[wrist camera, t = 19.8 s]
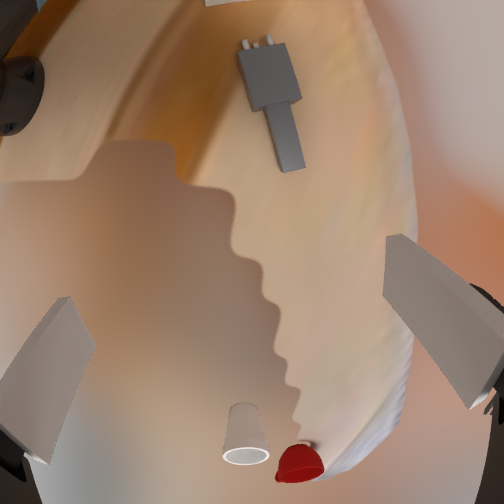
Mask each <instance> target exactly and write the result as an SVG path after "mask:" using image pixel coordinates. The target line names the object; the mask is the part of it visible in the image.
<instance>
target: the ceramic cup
mask: <svg viewBox="0 0 504 504" xmlns="http://www.w3.org/2000/svg"><path fill="white" fill-rule="evenodd" d="M323 473H324V466H323V463H322V460H321V458H320V456H319V455H318V453H317V452H316V451H315V450H314V449H312V448H311V447H309V446H307V445H305V444H297V445H293V446H290V447H288V448H287V449H286V451H285V452H284V453H283V455H282V456H281V458H280V460H279V467H278V471H277V473H276V476H275V480H276V481H277V482H285V483H298V482H304V481H308V480H311V479H314V478H316V477H318V476H320V475H321V474H323Z"/></svg>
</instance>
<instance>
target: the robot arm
mask: <svg viewBox="0 0 504 504" xmlns="http://www.w3.org/2000/svg"><path fill="white" fill-rule="evenodd" d="M46 1H47V0H0V136H10V135H14V134H16V133H18V132H20V131H21V130H22V129H23V128H24V127H25V126H26V125H27V124H28V123H29V121H30V120H31V118H32V117H33V115H34V113H35V112H36V109H37V107H38V105H39V102H40V100H41V96H42V92H43V87H44V71H43V67H42V65H41V63H40V62H39V61H38V60H37V59H35V58H33V57H29V56H18V57H13V58H8V59H4V58H5V56H6V55H7V53H8V52H9V50H10V49H11V47H12V46H13V44H14V43H15V41H16V40H17V38H18V37H19V36H20V34H21V33H22V32H23V30H24V29H25V28H26V26H27V25H28V24H29V22H30V21H31V20H32V19H33V17H34V16H35V15H36V14H38V13H39V12H40V10H41V8H42V6H43V5H44V4H45V3H46ZM3 59H4V60H3ZM383 296H384V298H385V299H386V300H387V301H388V302H389V304H390V305H391V306H392V307H393V308H394V310H395V311H396V312H397V313H398V315H399V316H400V317H401V318H402V320H403V321H404V322H405V323H406V325H407V326H408V327H409V328H410V330H411V331H412V332H413V333H414V335H415V336H416V337H417V339H418V340H419V341H420V342H421V344H422V345H423V346H424V347H425V349H426V350H427V352H428V353H429V354H430V356H431V357H432V358H433V360H434V361H435V362H436V364H437V365H438V367H439V368H440V369H441V371H442V372H443V374H444V375H445V376H446V378H447V379H448V381H449V382H450V383H451V385H452V386H453V388H454V389H455V391H456V392H457V394H458V395H459V397H460V398H461V400H462V401H463V403H464V404H465V406H466V407H467V409H468V410H470V409H471V408H473V407H474V406H476V405H477V404H478V403H480V402H482V401H483V400H484V399H485V398H486V397H487V395H488V394H489V392H490V391H491V389H492V388H493V387H494V388H495V390H496V391H497V392H496V394H495V395H494V397H493V399H492V400H491V401H490V403H489V404H488V405H487V407H486V408H485V411H484V414H487V413H488V411H489V410H490V409H491V407H492V406H493V410H492V412H491V413H490V415H492V423H491V432H490V439H489V446H488V452H487V458H486V462H485V467H484V471H483V476H482V480H481V484H480V487H479V491H478V494H477V498H476V501H475V504H504V307H503V306H501V304H500V303H499V302H498V301H497V300H495V299H493V297H492V296H491V295H490V294H488V293H487V292H486V291H485V290H483V289H482V288H480V287H478V286H476V285H473V284H471V283H470V284H468V283H467V282H466V281H465V280H464V279H462V278H461V277H460V276H459V275H457V274H456V273H455V272H454V271H452V270H451V269H449V268H448V267H447V266H446V265H444V264H443V263H442V262H441V261H439V260H438V259H437V258H435V257H434V256H433V255H431V254H430V253H428V252H427V251H426V250H424V249H423V248H422V247H420V246H419V245H417V244H416V243H415V242H413V241H412V240H410V239H409V238H407V237H406V236H405V235H403V234H397V235H392V236H387V237H386V255H385V273H384V286H383ZM96 346H97V345H96V343H95V341H94V340H93V338H92V336H91V335H90V333H89V331H88V329H87V327H86V326H85V324H84V322H83V321H82V318H81V316H80V315H79V313H78V311H77V309H76V307H75V305H74V303H73V301H72V299H71V297H63V298H58V299H57V301H56V302H55V303H54V304H53V306H52V307H51V308H50V309H49V311H48V312H47V313H46V315H45V316H44V317H43V319H42V320H41V321H40V323H39V324H38V325H37V326H36V328H35V329H34V331H33V332H32V333H31V335H30V336H29V338H28V339H27V340H26V342H25V343H24V345H23V346H22V348H21V349H20V351H19V352H18V353H17V355H16V357H15V358H14V360H13V361H12V363H11V364H10V366H9V367H8V369H7V371H6V372H5V374H4V375H3V377H2V379H1V380H0V504H42V501H41V498H40V495H39V493H38V490H37V487H36V484H35V481H34V477H33V474H32V471H31V467H30V464H29V461H28V459H26V458H25V457H24V456H23V455H24V452H26V453H27V454H28V455H30V456H31V457H32V458H33V459H35V460H36V461H39V462H42V463H45V464H48V465H49V464H50V461H51V458H52V455H53V452H54V449H55V446H56V442H57V439H58V437H59V434H60V431H61V428H62V426H63V423H64V420H65V417H66V415H67V412H68V410H69V407H70V405H71V402H72V400H73V397H74V395H75V392H76V390H77V388H78V385H79V383H80V381H81V378H82V376H83V374H84V372H85V369H86V367H87V365H88V363H89V361H90V359H91V356H92V354H93V352H94V350H95V348H96Z"/></svg>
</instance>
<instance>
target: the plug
mask: <svg viewBox="0 0 504 504" xmlns="http://www.w3.org/2000/svg"><path fill="white" fill-rule="evenodd" d="M265 37H266V40H267V43H268V46H263V47H259V44H258V42H256V43H253V44H252V45H253V48H252V49H250V46H249V43H248V40H247V39H244V40H242V41H241V42H242V45H243V48H244V50H243V51H238V60H237V63H238V66H239V69H240V72H241V76H242V79H243V82H244V86H245V89H246V92H247V96H248V99H249V102H250V106H251V109H252V113H253V112H257V111H261V110H264V111H265V115H266V118H267V122H268V126H269V129H270V133H271V136H272V140H273V144H274V148H275V151H276V155H277V159H278V163H279V167H280V171H281V172H283V173H286V172H290V171H294V170H299V169H303V168H306V166H305V162H304V158H303V154H302V150H301V146H300V142H299V138H298V134H297V130H296V126H295V123H294V119H293V115H292V112H291V108H290V104H294V103H296V102H297V101H299V100H300V99H301V98H302V96H301V93H300V89H299V86H298V83H297V79H296V76H295V73H294V70H293V67H292V63H291V60H290V57H289V54H288V51H287V48H286V46H285V43H281V44H274V42H273V39H272V36H271V35H266V36H265Z"/></svg>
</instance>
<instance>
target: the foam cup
mask: <svg viewBox="0 0 504 504" xmlns="http://www.w3.org/2000/svg"><path fill="white" fill-rule="evenodd" d="M269 456H270V453H269V446H268V444H267V442H266V439H265V435H264V432H263V428H262V424H261V421H260V417H259V413H258V410H257V407H256V406H255V405H253V404H250V403H238V404H235V405H233V406H232V407H231V409H230V412H229V418H228V424H227V431H226V437H225V443H224V446H223V458H224V459H225V461H227V462H230V463H232V464H238V465H252V464H256V463H261V462H263V461H265V460H267V459H268V457H269Z"/></svg>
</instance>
